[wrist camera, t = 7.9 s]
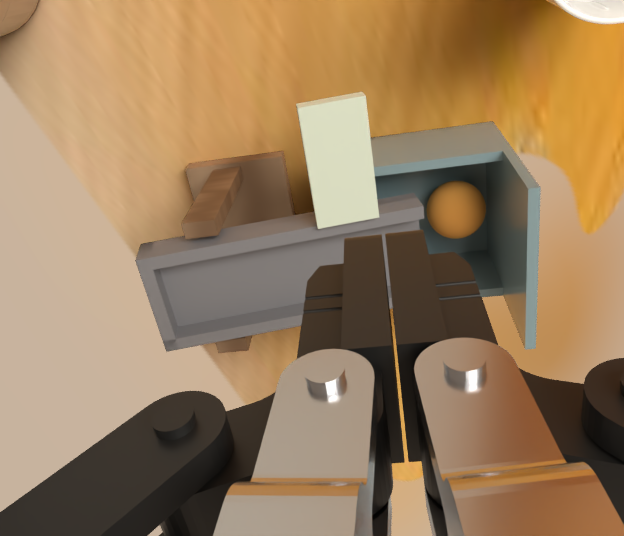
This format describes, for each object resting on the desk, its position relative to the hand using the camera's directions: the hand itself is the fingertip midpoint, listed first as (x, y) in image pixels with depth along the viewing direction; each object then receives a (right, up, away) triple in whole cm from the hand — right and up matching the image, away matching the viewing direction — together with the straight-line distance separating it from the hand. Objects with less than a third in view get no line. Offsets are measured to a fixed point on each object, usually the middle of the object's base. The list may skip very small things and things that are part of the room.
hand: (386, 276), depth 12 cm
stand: (-7, +4, +34) cm, 35 cm away
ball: (+9, +4, +30) cm, 31 cm away
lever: (-4, +3, +25) cm, 25 cm away
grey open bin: (+7, +5, +32) cm, 33 cm away
